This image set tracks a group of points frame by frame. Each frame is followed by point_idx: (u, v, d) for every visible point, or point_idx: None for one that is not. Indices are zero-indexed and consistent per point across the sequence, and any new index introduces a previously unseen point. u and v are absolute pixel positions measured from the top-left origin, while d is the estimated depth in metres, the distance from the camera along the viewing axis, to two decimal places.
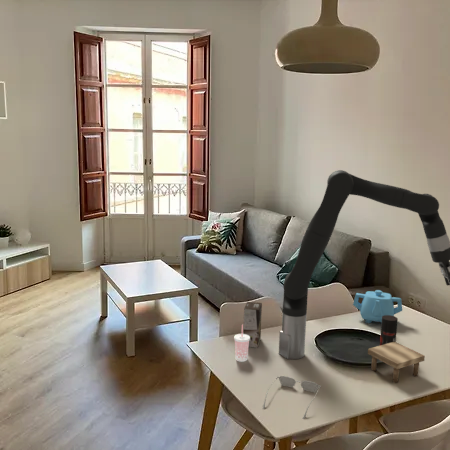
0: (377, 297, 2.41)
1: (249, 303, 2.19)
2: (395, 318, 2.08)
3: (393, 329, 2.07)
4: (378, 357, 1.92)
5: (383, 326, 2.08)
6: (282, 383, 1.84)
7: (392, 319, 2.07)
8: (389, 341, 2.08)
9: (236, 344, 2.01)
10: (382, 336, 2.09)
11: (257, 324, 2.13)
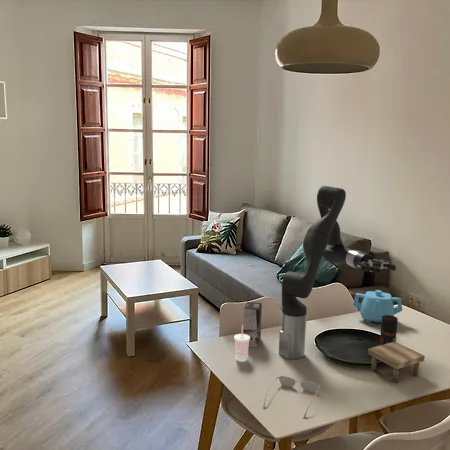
0: (377, 297, 2.41)
1: (249, 303, 2.19)
2: (395, 318, 2.08)
3: (393, 329, 2.07)
4: (378, 357, 1.92)
5: (383, 326, 2.08)
6: (282, 383, 1.84)
7: (392, 319, 2.07)
8: (389, 341, 2.08)
9: (236, 344, 2.01)
10: (382, 336, 2.09)
11: (257, 324, 2.13)
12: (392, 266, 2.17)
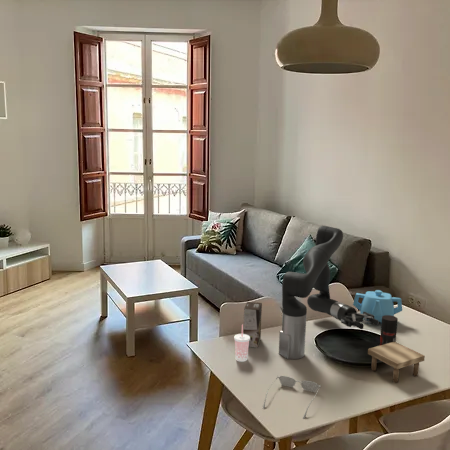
0: (377, 297, 2.41)
1: (249, 303, 2.19)
2: (395, 318, 2.08)
3: (393, 329, 2.07)
4: (378, 357, 1.92)
5: (383, 326, 2.08)
6: (282, 383, 1.84)
7: (392, 319, 2.07)
8: (389, 341, 2.08)
9: (236, 344, 2.01)
10: (382, 336, 2.09)
11: (257, 324, 2.13)
12: (375, 321, 2.21)
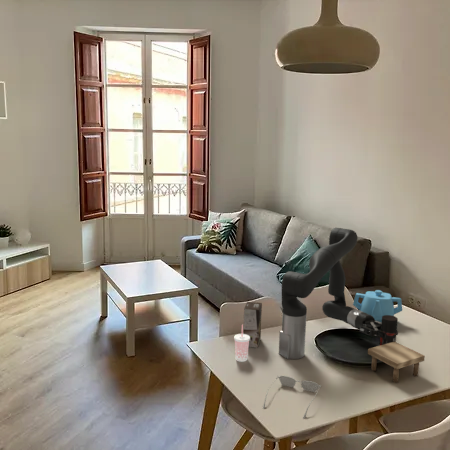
0: (377, 297, 2.41)
1: (249, 303, 2.19)
2: (395, 318, 2.08)
3: (393, 329, 2.07)
4: (378, 357, 1.92)
5: (383, 326, 2.08)
6: (282, 383, 1.85)
7: (392, 319, 2.07)
8: (389, 341, 2.08)
9: (236, 344, 2.01)
10: None
11: (257, 324, 2.13)
12: None
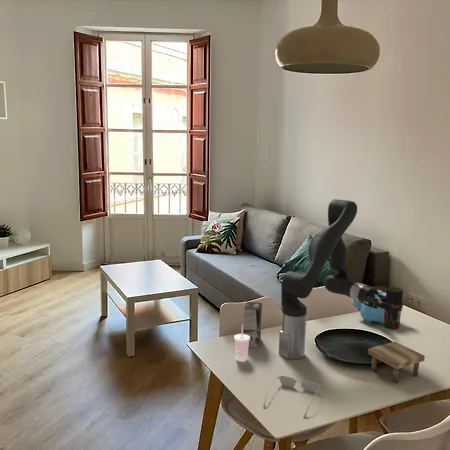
0: None
1: (249, 303, 2.19)
2: (400, 290, 2.01)
3: (398, 301, 1.99)
4: (378, 357, 1.92)
5: (388, 298, 2.01)
6: (282, 383, 1.85)
7: (397, 291, 2.00)
8: (394, 313, 2.00)
9: (236, 344, 2.01)
10: None
11: (257, 324, 2.13)
12: None
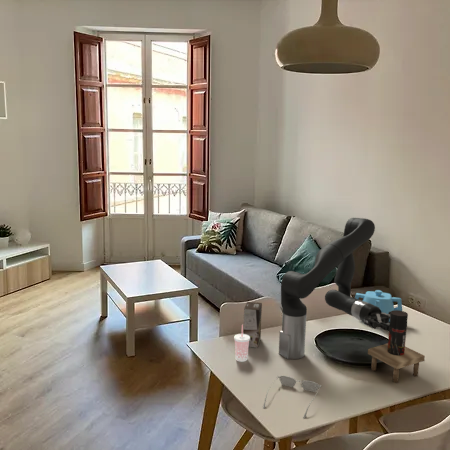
0: (377, 297, 2.41)
1: (249, 303, 2.19)
2: (405, 313, 1.91)
3: (403, 325, 1.89)
4: (378, 357, 1.92)
5: (392, 322, 1.91)
6: (282, 383, 1.85)
7: (402, 314, 1.90)
8: (398, 338, 1.90)
9: (236, 344, 2.01)
10: (391, 333, 1.92)
11: (257, 324, 2.13)
12: None
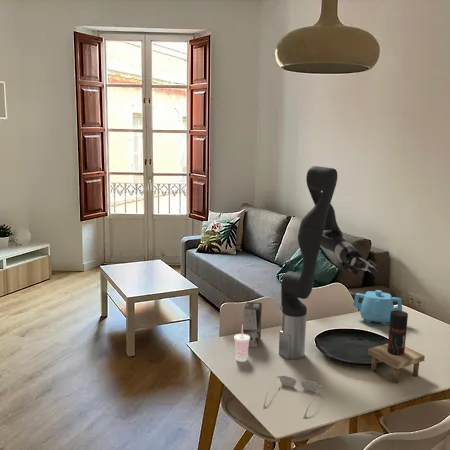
0: (377, 297, 2.41)
1: (249, 303, 2.19)
2: (405, 313, 1.91)
3: (403, 325, 1.89)
4: (378, 357, 1.92)
5: (392, 322, 1.91)
6: (283, 383, 1.85)
7: (402, 315, 1.90)
8: (398, 338, 1.90)
9: (236, 344, 2.01)
10: (391, 333, 1.92)
11: (257, 324, 2.13)
12: (375, 271, 1.99)
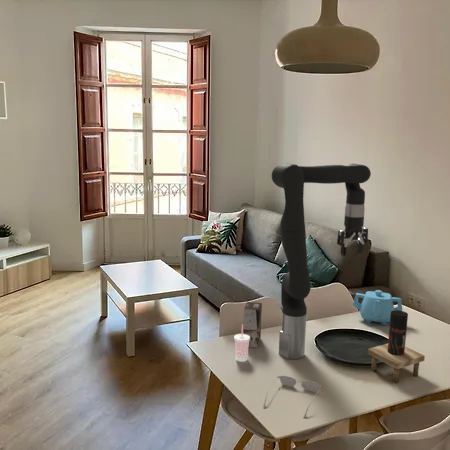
0: (377, 297, 2.41)
1: (249, 303, 2.19)
2: (405, 313, 1.91)
3: (403, 325, 1.89)
4: (378, 357, 1.92)
5: (392, 322, 1.91)
6: (283, 383, 1.85)
7: (402, 314, 1.90)
8: (398, 338, 1.90)
9: (236, 344, 2.01)
10: (391, 333, 1.92)
11: (257, 324, 2.13)
12: (360, 250, 2.14)
